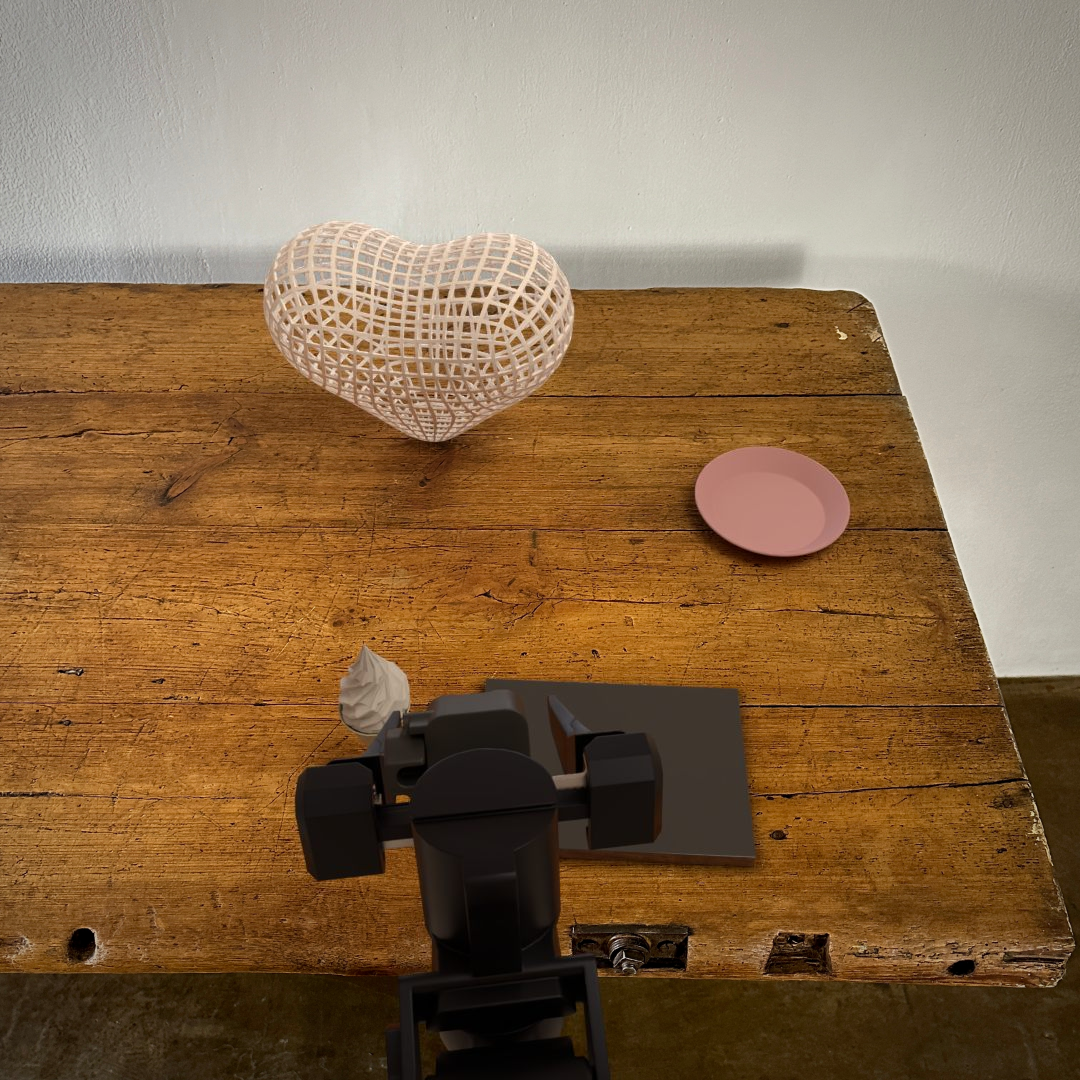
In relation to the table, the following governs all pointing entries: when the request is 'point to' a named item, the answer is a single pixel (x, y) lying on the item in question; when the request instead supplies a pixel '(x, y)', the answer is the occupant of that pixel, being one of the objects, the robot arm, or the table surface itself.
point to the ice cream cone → (372, 695)
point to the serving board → (687, 762)
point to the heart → (420, 322)
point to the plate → (772, 501)
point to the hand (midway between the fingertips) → (474, 708)
